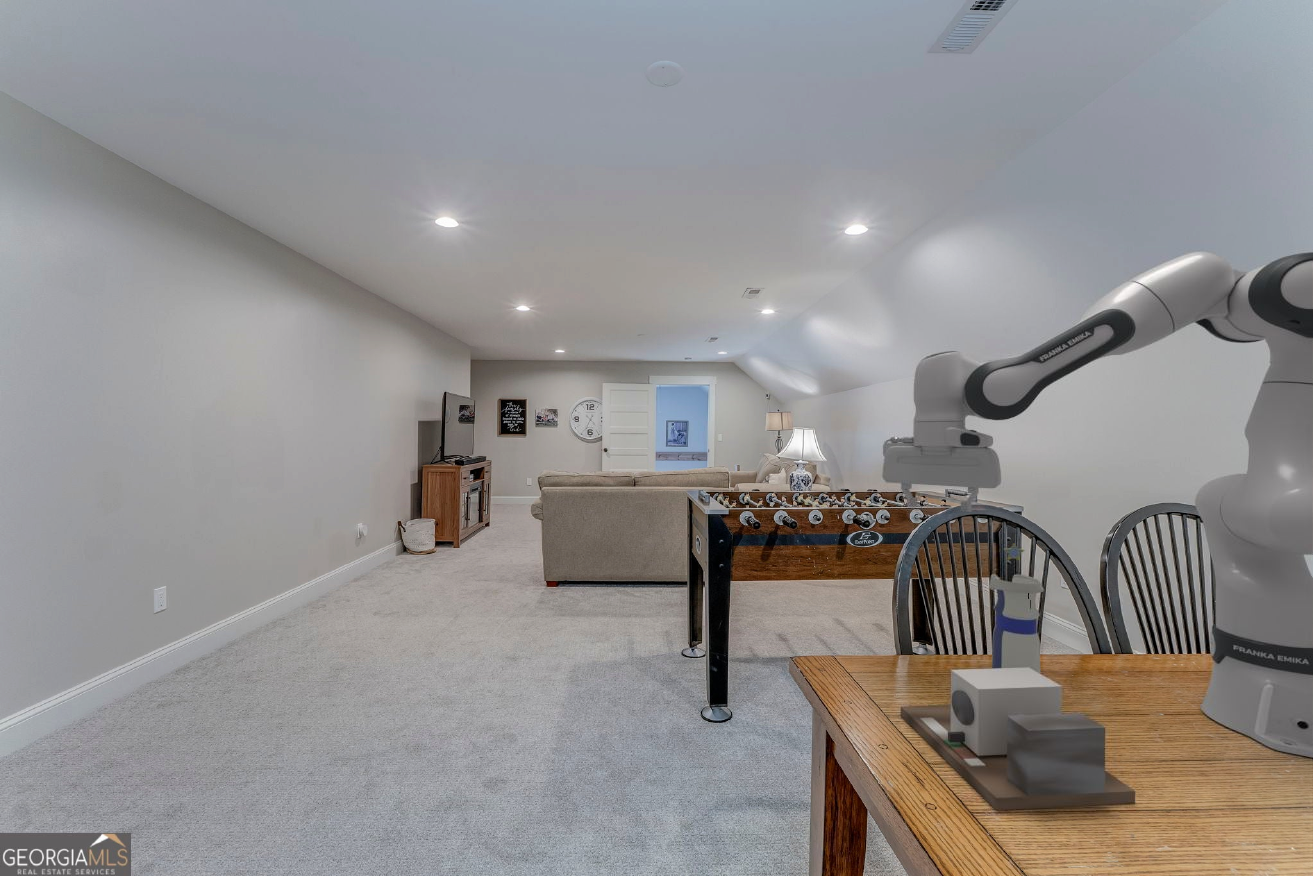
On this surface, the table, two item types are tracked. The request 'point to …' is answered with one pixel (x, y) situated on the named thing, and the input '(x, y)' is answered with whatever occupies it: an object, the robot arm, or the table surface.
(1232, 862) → the table surface
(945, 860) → the table surface
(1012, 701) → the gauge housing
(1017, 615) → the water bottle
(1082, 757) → the gauge stand
